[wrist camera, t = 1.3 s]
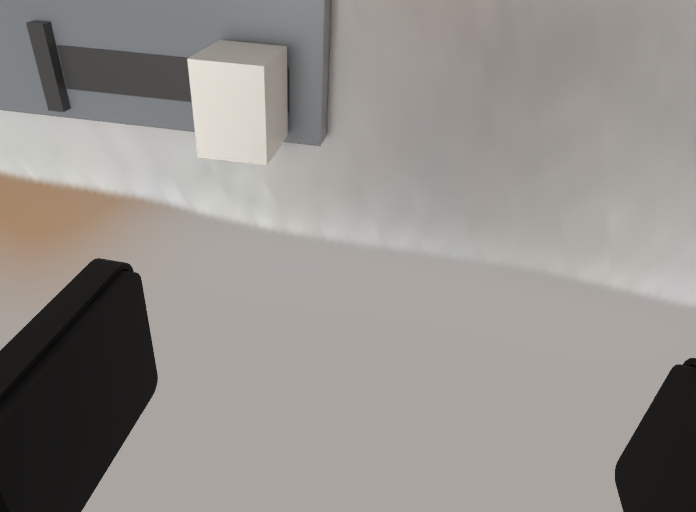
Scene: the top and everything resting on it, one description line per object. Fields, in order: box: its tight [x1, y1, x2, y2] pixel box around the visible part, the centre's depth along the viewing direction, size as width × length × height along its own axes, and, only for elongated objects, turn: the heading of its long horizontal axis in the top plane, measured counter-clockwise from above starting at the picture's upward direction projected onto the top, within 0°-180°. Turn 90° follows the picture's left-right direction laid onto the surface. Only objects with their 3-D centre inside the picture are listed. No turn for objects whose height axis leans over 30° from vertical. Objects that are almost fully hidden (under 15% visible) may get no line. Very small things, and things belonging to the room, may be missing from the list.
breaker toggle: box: [187, 40, 288, 165], centre depth 23 cm, size 3×4×4 cm
